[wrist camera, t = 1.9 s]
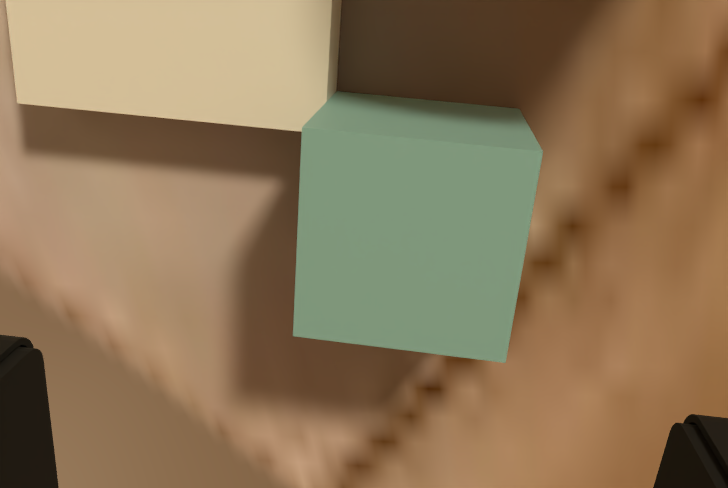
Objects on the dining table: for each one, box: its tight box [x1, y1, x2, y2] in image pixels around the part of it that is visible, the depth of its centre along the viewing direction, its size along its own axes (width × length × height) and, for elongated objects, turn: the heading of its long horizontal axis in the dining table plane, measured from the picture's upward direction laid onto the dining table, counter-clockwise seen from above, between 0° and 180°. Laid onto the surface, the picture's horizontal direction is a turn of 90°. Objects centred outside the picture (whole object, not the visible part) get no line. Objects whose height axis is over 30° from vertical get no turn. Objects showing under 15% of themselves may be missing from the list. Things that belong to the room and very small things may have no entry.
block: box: [293, 91, 543, 363], centre depth 21 cm, size 6×6×6 cm
